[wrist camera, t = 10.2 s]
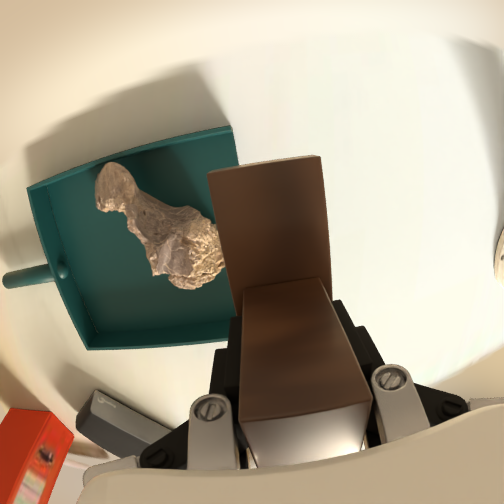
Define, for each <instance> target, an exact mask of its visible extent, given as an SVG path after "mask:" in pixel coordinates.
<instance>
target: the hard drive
mask: <svg viewBox="0 0 504 504" xmlns="http://www.w3.org/2000/svg"><path fill="white" fill-rule="evenodd" d="M76 429H77V430H78V431H79V432H80V433H81V434H82V435H84V436H85V437H87V438H88V439H89V440H91V441H92V442H94V443H95V444H97V445H99V446H100V447H102V448H103V449H105V450H107V451H109V452H110V453H112V454H114V455H116V456H118V457H120V458H125V457H128V456H131V455H134V456H135V457H137V456H140V455H141V453H142V452H143V450H144V449H145V448H147V447H148V446H149V445H151V444H153V443H154V442H156V441H157V440H159V439H160V438H162V437H163V436H165V435H167V434H168V433H170V432H171V430H169V429H167V428H165V427H164V426H162V425H160V424H158V423H156V422H154V421H152V420H150V419H148V418H146V417H144V416H143V415H141V414H139V413H137V412H135V411H133V410H131V409H130V408H128V407H126V406H124V405H122V404H120V403H119V402H117V401H115V400H113V399H111V398H110V397H108V396H106V395H104V394H102V393H101V392H99V391H97V390H96V391H94V393H93V394H92V396H91V397H90V398H89V400H88V401H87V402H86V404H85V405H84V406H83V408H82V409H81V410H80V412H79V413H78V415H77V416H76Z"/></svg>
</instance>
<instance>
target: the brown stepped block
mask: <svg viewBox="0 0 504 504" xmlns="http://www.w3.org/2000/svg"><path fill="white" fill-rule="evenodd" d="M207 180H208V186H209V191H210V196H211V201H212V206H213V211H214V215H215V220H216V225H217V230H218V235H219V239H220V244H221V249H222V253H223V258H224V263H225V267H226V272H227V276H228V281H229V285H230V290H231V294H232V299H233V303H234V307H235V312H236V316H242V336H241V362H240V389H239V418H238V420H239V423H240V426H241V428H242V431H243V433H244V436H245V439H246V441H247V444H248V446H249V449H250V452H251V454H252V457H253V459H254V462H255V464H256V466H257V468H267V467H276V466H285V465H292V464H299V463H306V462H312V461H317V460H323V459H328V458H332V457H337V456H342V455H346V454H350V453H354V452H358V451H361V448H362V444H363V440H364V436H365V432H366V428H367V423H368V419H369V414H370V410H371V405H372V400H373V396H372V394H371V391H370V389H369V386H368V384H367V382H366V379H365V377H364V374H363V372H362V370H361V367H360V365H359V363H358V360H357V358H356V356H355V354H354V351H353V349H352V347H351V344H350V342H349V340H348V338H347V336H346V333H345V331H344V329H343V327H342V324H341V322H340V320H339V318H338V316H337V314H336V311H335V309H334V307H333V305H332V303H331V301H333V297H332V275H331V258H330V243H329V230H328V219H327V208H326V198H325V189H324V180H323V172H322V164H321V157H320V156H316V155H308V156H299V157H291V158H284V159H277V160H270V161H263V162H257V163H251V164H245V165H239V166H233V167H227V168H222V169H217V170H212V171H210V172H209V173H207Z"/></svg>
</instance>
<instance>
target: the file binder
mask: <svg viewBox="0 0 504 504" xmlns="http://www.w3.org/2000/svg"><path fill="white" fill-rule="evenodd" d="M73 439H74V436H73V434H72V433H71V432H70V431H69V430H68V429H67V428H66V427H65V426H64V425H63V424H62V423H61V422H60V421H59V420H58V418H57V417H56V416H55V415H54V414H53V413H52V412H46V411H33V410H23V409H14V408H10V410H9V411H8V413H7V415H6V416H5V418H4V419H3V421H2V423H1V424H0V504H47V503H48V501H49V498H50V495H51V493H52V490H53V487H54V485H55V482H56V479H57V477H58V475H59V472H60V469H61V467H62V465H63V462H64V460H65V458H66V455H67V453H68V451H69V448H70V446H71V444H72V441H73Z"/></svg>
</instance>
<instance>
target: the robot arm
mask: <svg viewBox="0 0 504 504" xmlns="http://www.w3.org/2000/svg"><path fill="white" fill-rule="evenodd" d="M494 267H495V277H496V280H497V282H498V284H499V285H500V286H501V287H502V288H504V229H503V231H502V233H501V236H500V239H499V242H498V246H497V249H496V255H495V264H494ZM331 303H332V305H333V307H334V309H335V311H336V314H337V316H338V318H339V320H340V322H341V324H342V327H343V329H344V331H345V333H346V336H347V338H348V340H349V342H350V344H351V347H352V349H353V351H354V354H355V356H356V358H357V360H358V363H359V365H360V367H361V370H362V372H363V374H364V377H365V379H366V382H367V384H368V386H369V389H370V391H371V394H372V396H373V400H372V405H371V410H370V414H369V419H368V423H367V428H366V432H365V436H364V445H365V450H362V451H358V452H354V453H350V454H346V455H342V456H337V457H332V458H328V459H323V460H317V461H312V462H306V463H299V464H292V465H285V466H276V467H267V468H255V469H251V467H250V460H249V452H248V447H249V446H248V444H247V441H246V439H245V436H244V433H243V431H242V428H241V426H240V423H239V420H238V418H239V389H240V362H241V336H242V316H234V317H230V326H229V335H228V346H227V348H223V349H216V350H215V355H214V361H213V368H212V375H211V382H210V389H209V394H207V395H203V396H201V397H199V398H198V399H197V400H195V401H194V402H193V404H192V405H191V408H190V414H189V420H187V421H186V422H184V423H183V424H181V425H180V426H178V427H177V428H176V429H174V430H173V431H171V432H170V433H168V434H167V435H165V436H163V437H162V438H160V439H159V440H157V441H156V442H154V443H153V444H151V445H149V446H148V447H147V448H145V449H144V450H143V452H142V453H141V455H140V456H137V457H135V456H134V455H131V456H128V457H125V458H121V459H118V460H114V461H110V462H107V463H103V464H98V465H94V466H92V467H89V468H88V469H87V470H86V471H85V473H84V475H83V485H84V489H83V490H82V492H81V495H80V497H79V499H78V501H77V503H76V504H504V397H501V398H479V399H469V401H468V402H466V401H465V400H464V399H462V398H461V397H459V396H457V395H454V394H450V393H447V392H443V391H440V390H436V389H433V388H429V387H426V386H422V385H419V384H416V383H413V381H412V378H411V376H410V374H409V372H408V371H407V370H406V369H405V368H404V367H402V366H399V365H395V364H387V365H385V363H384V361H383V359H382V357H381V355H380V354H379V352H378V350H377V348H376V346H375V344H374V342H373V341H372V339H371V337H370V335H369V333H368V332H367V330H366V328H365V327H364V326H359V327H355V326H354V324H353V322H352V320H351V318H350V316H349V314H348V312H347V311H346V309H345V307H344V305H343V303H342V301H341V300H335V301H331Z"/></svg>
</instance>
